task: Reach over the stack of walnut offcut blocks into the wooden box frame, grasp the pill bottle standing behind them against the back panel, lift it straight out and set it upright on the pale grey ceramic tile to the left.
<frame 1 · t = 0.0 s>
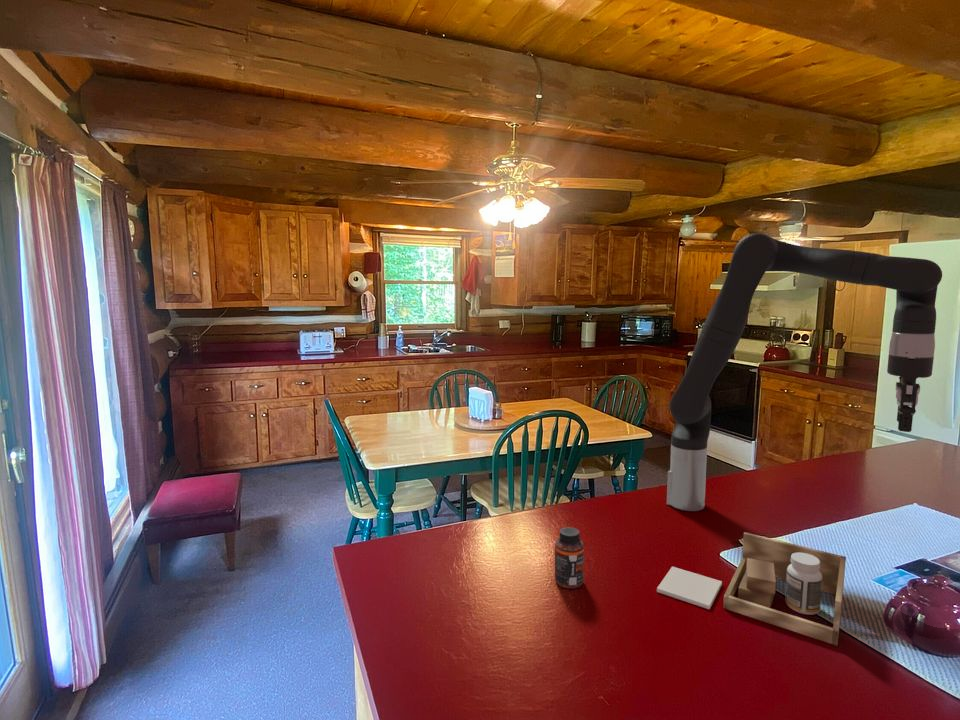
hand: (903, 426, 114), 29 cm above the counter, fingers open, 8 cm apart
tile: (689, 588, 106), on the counter
pill bottle: (801, 607, 99), on the counter
offcut block upper: (759, 581, 103), point 3 cm above the counter, touching offcut block lower
wooden box frame: (784, 601, 101), on the counter
offcut block lower: (757, 595, 104), on the counter, touching offcut block upper
supplement bottle: (569, 583, 109), on the counter
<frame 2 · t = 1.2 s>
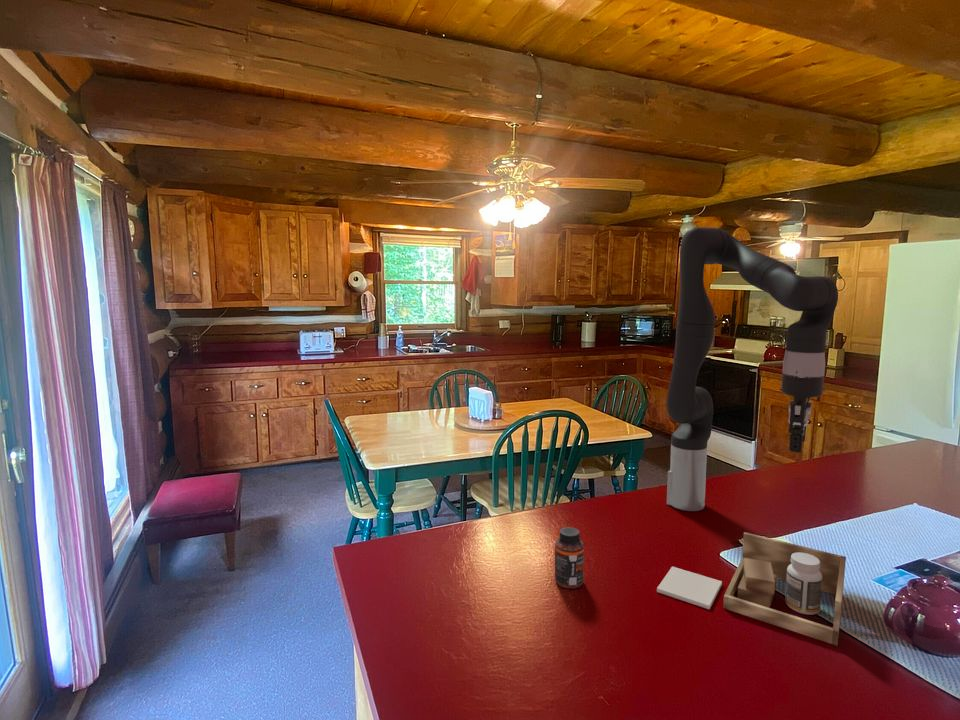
hand: (797, 446, 112), 26 cm above the counter, fingers open, 8 cm apart
nothing on the counter moved.
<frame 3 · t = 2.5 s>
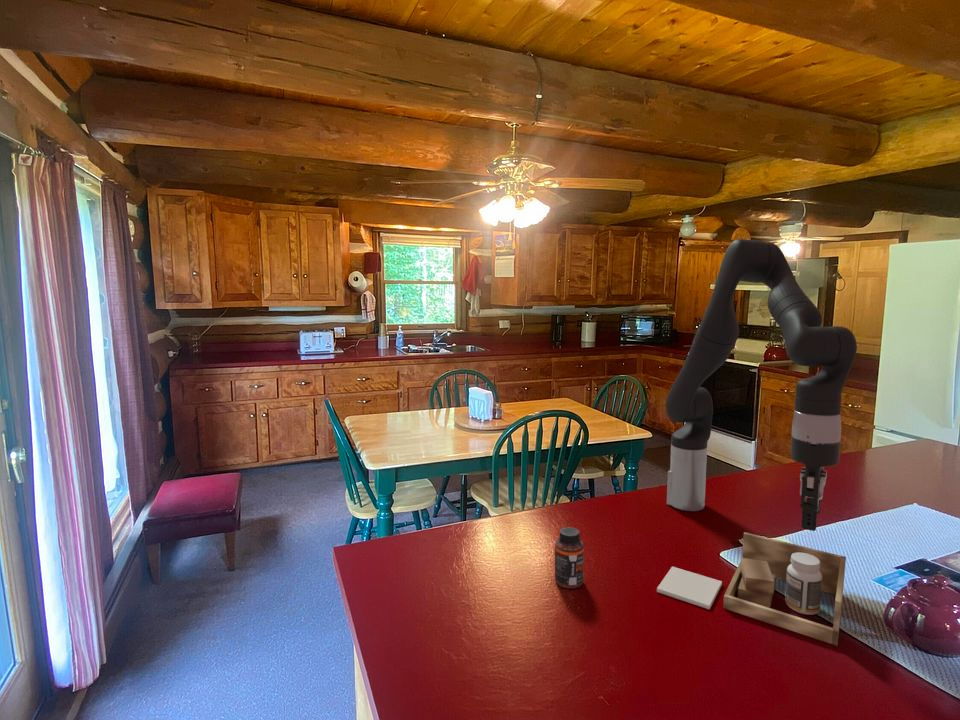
hand: (810, 520, 97), 17 cm above the counter, fingers open, 8 cm apart
nothing on the counter moved.
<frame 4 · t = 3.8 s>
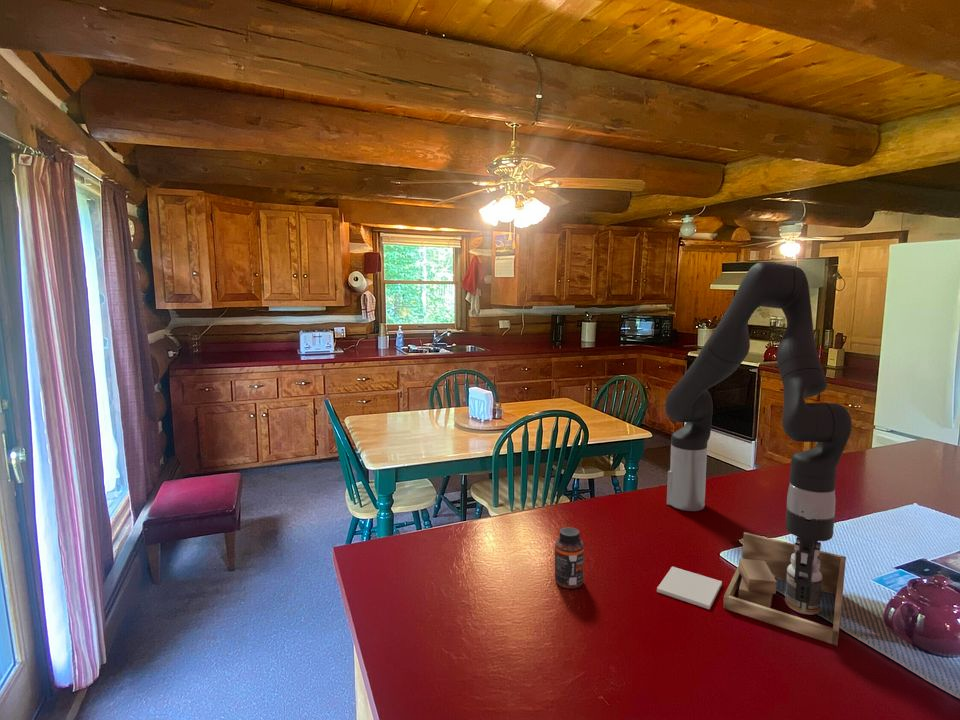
hand: (804, 590, 98), 4 cm above the counter, fingers open, 8 cm apart
nothing on the counter moved.
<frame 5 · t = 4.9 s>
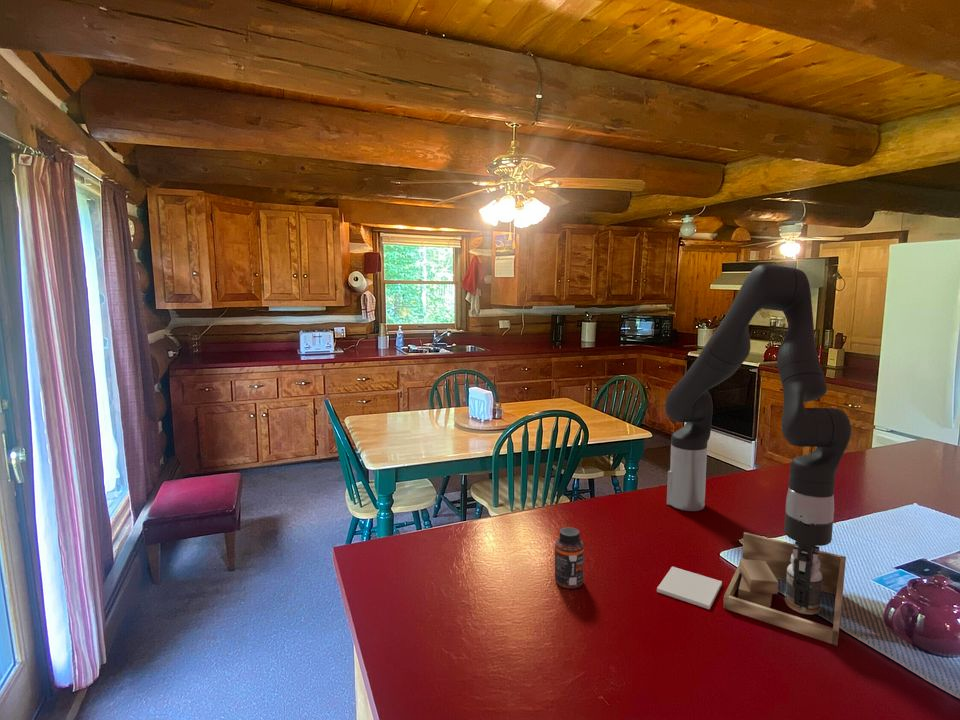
hand: (802, 596, 99), 2 cm above the counter, fingers closed on pill bottle, 5 cm apart
pill bottle: (801, 607, 99), on the counter, touching gripper
everything else where it was.
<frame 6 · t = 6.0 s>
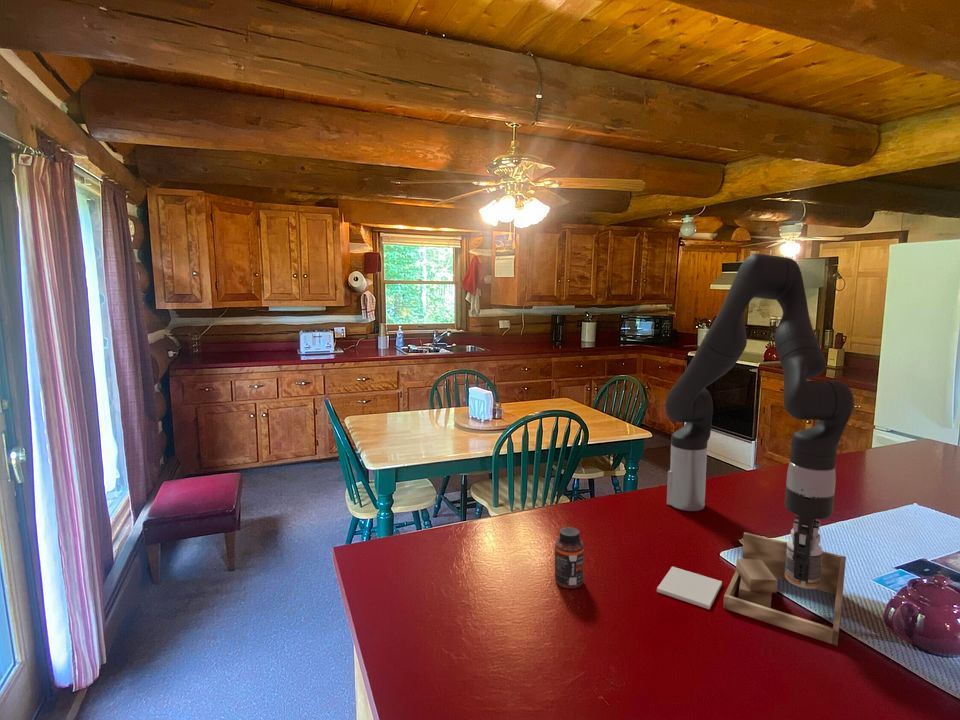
hand: (802, 571, 98), 7 cm above the counter, fingers closed on pill bottle, 5 cm apart
pill bottle: (801, 582, 99), point 5 cm above the counter, touching gripper
offcut block upper: (755, 580, 103), point 3 cm above the counter
offcut block lower: (755, 595, 104), on the counter
everything else where it was.
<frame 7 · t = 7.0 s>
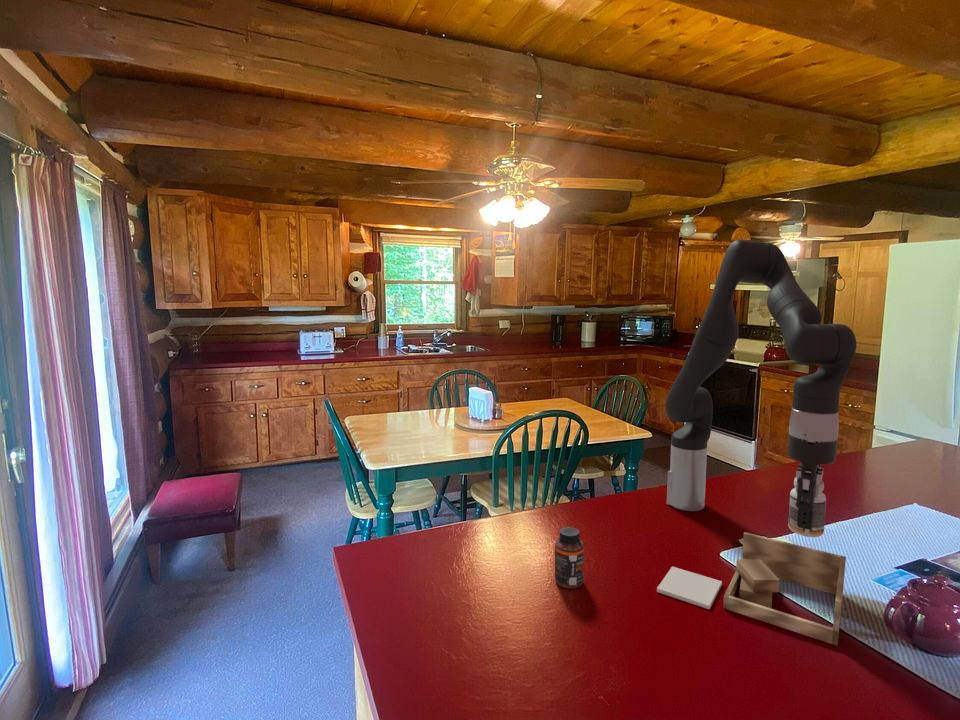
hand: (805, 520, 97), 17 cm above the counter, fingers closed on pill bottle, 5 cm apart
pill bottle: (805, 532, 97), point 15 cm above the counter, touching gripper
offcut block upper: (756, 580, 103), point 3 cm above the counter, touching offcut block lower
offcut block lower: (756, 595, 104), on the counter, touching offcut block upper
everything else where it was.
when the fingers open (4 cm above the counter, at t = 11.5 s): pill bottle drops 1 cm, resting on tile.
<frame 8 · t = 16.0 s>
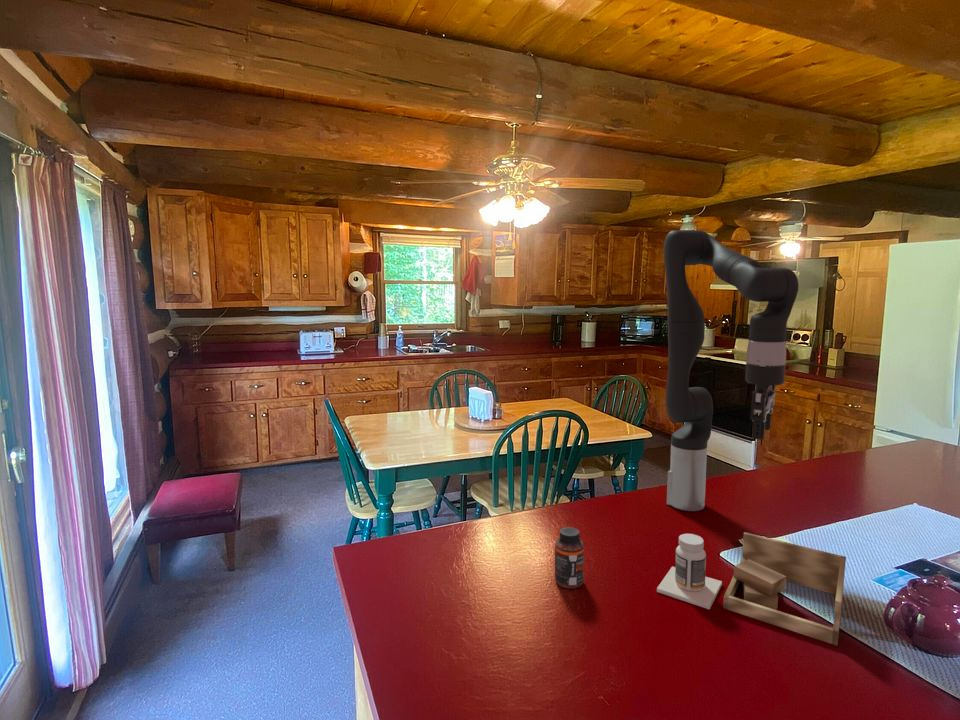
hand: (761, 433, 115), 28 cm above the counter, fingers open, 8 cm apart
pill bottle: (689, 585, 106), point 1 cm above the counter, touching tile
at the end: pill bottle inside the target area on the tile (0.0 cm from its centre), point 0.6 cm above the tile's base; pill bottle tilted 0°; offcut block lower moved 0.5 cm from its start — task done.
